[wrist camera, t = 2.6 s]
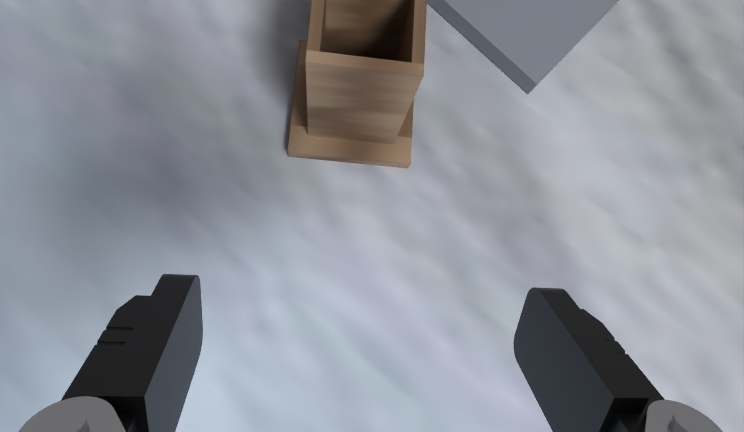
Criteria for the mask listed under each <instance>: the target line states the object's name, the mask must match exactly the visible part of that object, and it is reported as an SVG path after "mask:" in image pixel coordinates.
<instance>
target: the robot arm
mask: <svg viewBox="0 0 744 432" xmlns="http://www.w3.org/2000/svg"><path fill="white" fill-rule="evenodd" d="M202 337H203V325H202V307H201V288H200V279H199V276H198V275H176V274H163V275H162V276H161V278H160V280H159V282H158V284H157V285H156V287H155V289H154V291H153V293H152V295H151V296H138V295H136V296H134V297H133V298H132V299H130V300H129V301H128V302H127V303H125V304H124V305H123V306H121V307H120V308H119V309H117V310H116V312H115V314H114V315H113V317H112V318H111V320H110V322H109V323H108V325H107V327H106V330H104V331H103V333H102V335H101V336H100V338H99V340H98V341H97V345H95V346H94V348H93V349H92V351H91V353H90V354H89V356H88V357H87V359H86V361H85V362H84V364H83V366H82V367H81V369H80V370H79V372H78V374H77V375H76V377H75V378H74V380H73V382H72V383H71V385H70V387H69V388H68V390H67V391H66V393H65V395H64V396H63V398H62V400H61V401H59V402H56V403H54V404H52V405H50V406H48V407H46V408H44V409H43V410H41V411H39V412H38V413H37V414H35V415H34V416H33V417H31V418H30V419H29V420H28V421H27V422H26V423H25V424H24V426H23V427H22V428H21V429H20V431H19V432H175V430H176V427H177V424H178V421H179V418H180V415H181V412H182V409H183V406H184V403H185V399H186V396H187V393H188V390H189V387H190V384H191V381H192V378H193V375H194V372H195V368H196V365H197V362H198V359H199V356H200V352H201V346H202ZM614 339H615V338H614V337H613V336H612V334H611V333H610V332H609V331H608V330H607V328H606V327H605V326H604V325H603V323H602V322H600V321H599V320H597V319H596V318H595V317H593V316H592V315H591V314H589V313H588V312H587V311H585V310H584V309H580V308H579V307H578V306H577V305H576V303H575V302H574V301H573V299H572V298H571V297H570V296H569V294H568V293H567V292H566V291H565V290H564V289H557V288H532V289H530V290H529V292H528V294H527V297H526V300H525V303H524V307H523V310H522V313H521V316H520V320H519V323H518V326H517V329H516V333H515V337H514V353H515V357H516V360H517V362H518V364H519V366H520V368H521V370H522V372H523V374H524V376H525V378H526V380H527V382H528V384H529V386H530V388H531V390H532V392H533V394H534V396H535V398H536V400H537V402H538V404H539V406H540V407H541V409H542V411H543V413H544V415H545V417H546V419H547V421H548V423H549V425H550V427H551V429H552V431H553V432H722V430H721V429H720V428H719V427H718V426H717V425H716V424H715V423H714V422H713V421H712V420H710V419H709V418H708V417H707V416H705V415H704V414H702V413H701V412H699V411H697V410H696V409H694V408H692V407H690V406H687V405H685V404H682V403H679V402H675V401H670V400H665V399H664V398H663V397H662V396H661V395H660V393H659V392H658V391H657V390H656V388H655V387H654V386H653V385H652V384H651V382H650V381H649V380H648V379H647V377H646V376H645V375H644V374H643V372H642V371H641V370H640V369H639V368H638V366H637V365H636V364H635V363H634V361H633V360H632V359H631V358H630V357H629V355H628V354H625V350H624V349H623V348H622V347H621V345H620V344H619V343H618V342H617V341H615V340H614Z"/></svg>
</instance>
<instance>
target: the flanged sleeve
mask: <svg viewBox="0 0 744 432" xmlns="http://www.w3.org/2000/svg"><path fill="white" fill-rule="evenodd" d="M426 6H427V0H312V5H311V14H310V24H309V34H308V41H303V40H300V42H299V51H298V61H297V70H296V79H295V88H294V97H293V106H292V115H291V125H290V134H289V143H288V156H289V157H299V158H309V159H320V160H330V161H340V162H350V163H360V164H370V165H381V166H391V167H401V168H408V167H409V165H410V163H411V143H412V122H413V101H414V96H415V94H416V92H417V89H418V87H419V85H420V83H421V80H422V78H423V76H424V54H425V30H426Z"/></svg>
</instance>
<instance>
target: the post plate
mask: <svg viewBox="0 0 744 432" xmlns="http://www.w3.org/2000/svg"><path fill="white" fill-rule="evenodd" d="M618 1H619V0H427V3H428V4H429V5H430V6H431V7H432V8H433V9H434V10H435V11H437V12H438V13H439V14H440V15H441V16H442V17H443V18H444V19H445V20H447V21H448V22H449V23H450V24H451V25H452V26H453V27H454V28H455V29H456V30H458V31H459V32H460V33H461V34H462V35H463V36H464V37H465V38H466V39H467V40H469V41H470V42H471V43H472V44H473V45H474V46H475V47H476V48H477V49H478V50H480V51H481V52H482V53H483V54H484V55H485V56H486V57H487V58H488V59H490V60H491V61H492V62H493V63H494V64H495V65H496V66H497V67H498V68H499V69H501V70H502V71H503V72H504V73H505V74H506V75H507V76H508V77H509V78H510V79H512V80H513V81H514V82H515V83H516V84H517V85H518V86H519V87H520V88H521V89H523V90H524V91H525V92H526V93H527V94H529V93H530V92H531V91H532V90H533V88H534V87H535V86H536V85H537V84H538V83H539V82H540V81H541V80H542V79H543V78H544V77H545V76H546V75H547V74H548V73H549V72H550V71H551V70H552V69H553V68H554V67H555V66H556V65H557V64H558V63H559V62H560V61H561V60H562V59H563V57H564V56H565V55H566V54H567V53H568V52H569V51H570V50H571V49H572V48H573V47H574V46H575V45H576V44H577V43H578V42H579V41H580V40H581V39H582V38H583V37H584V36H585V35H586V34H587V33H588V32H589V31H590V30H591V29H592V28H593V26H594V25H595V24H596V23H597V22H598V21H599V20H600V19H601V18H602V17H603V16H604V15H605V14H606V13H607V12H608V11H609V10H610V9H611V8H612V7H613V6H614V5H615V4H616V3H617V2H618Z"/></svg>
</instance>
